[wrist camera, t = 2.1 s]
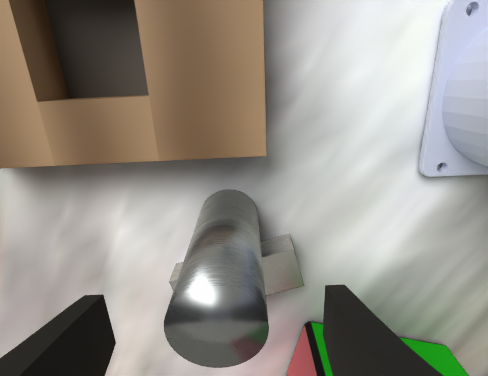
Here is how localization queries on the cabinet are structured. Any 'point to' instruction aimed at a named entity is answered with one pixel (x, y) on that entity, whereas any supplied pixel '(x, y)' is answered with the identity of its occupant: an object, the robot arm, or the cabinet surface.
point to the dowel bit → (220, 287)
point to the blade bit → (270, 266)
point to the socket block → (130, 81)
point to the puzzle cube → (318, 368)
